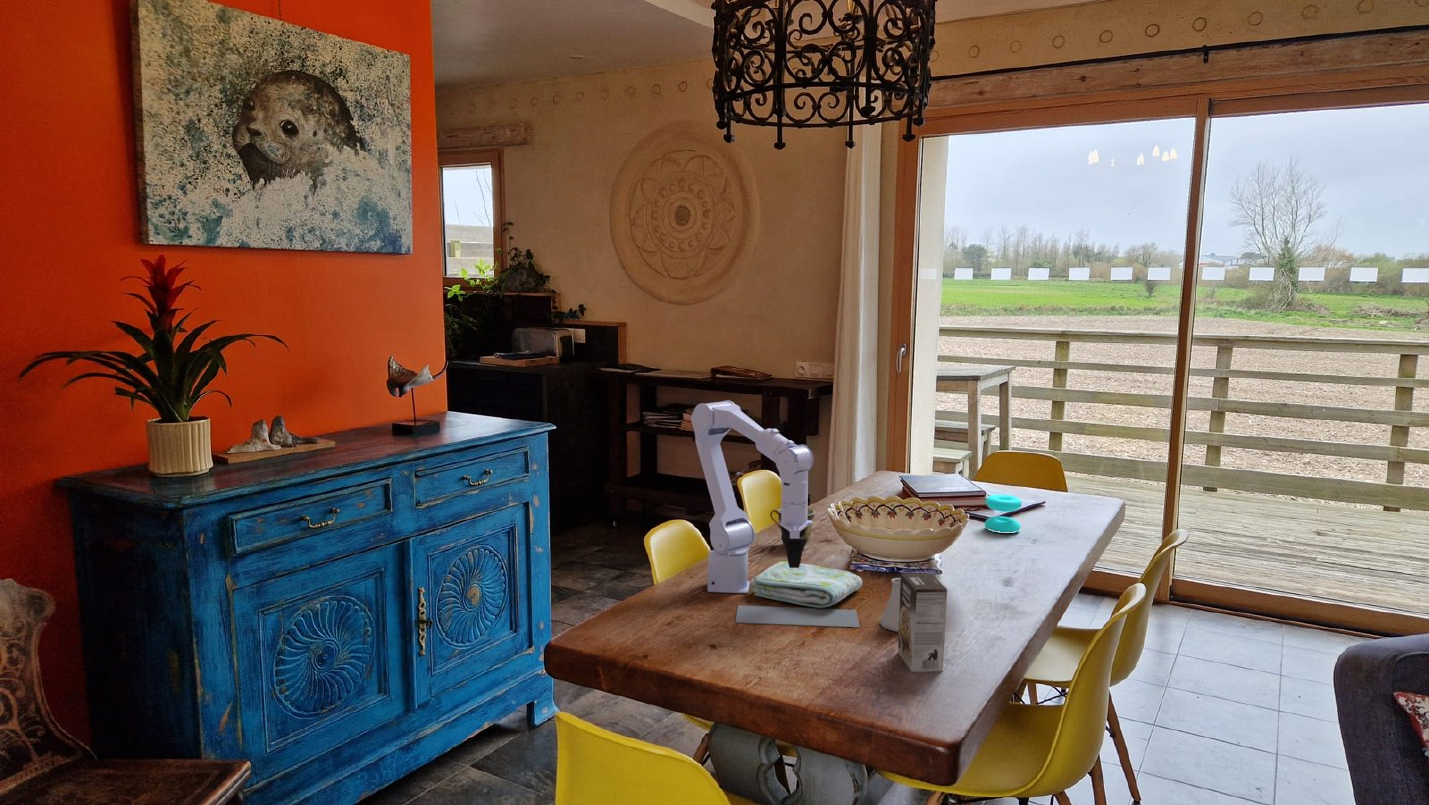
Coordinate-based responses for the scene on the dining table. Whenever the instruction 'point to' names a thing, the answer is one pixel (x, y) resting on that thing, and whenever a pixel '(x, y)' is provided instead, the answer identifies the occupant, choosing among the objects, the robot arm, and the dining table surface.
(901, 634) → the coffee box
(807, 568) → the towel
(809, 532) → the ceramic cup
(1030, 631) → the dining table surface
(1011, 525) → the donuts
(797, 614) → the slate mat
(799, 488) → the robot arm
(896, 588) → the flask
